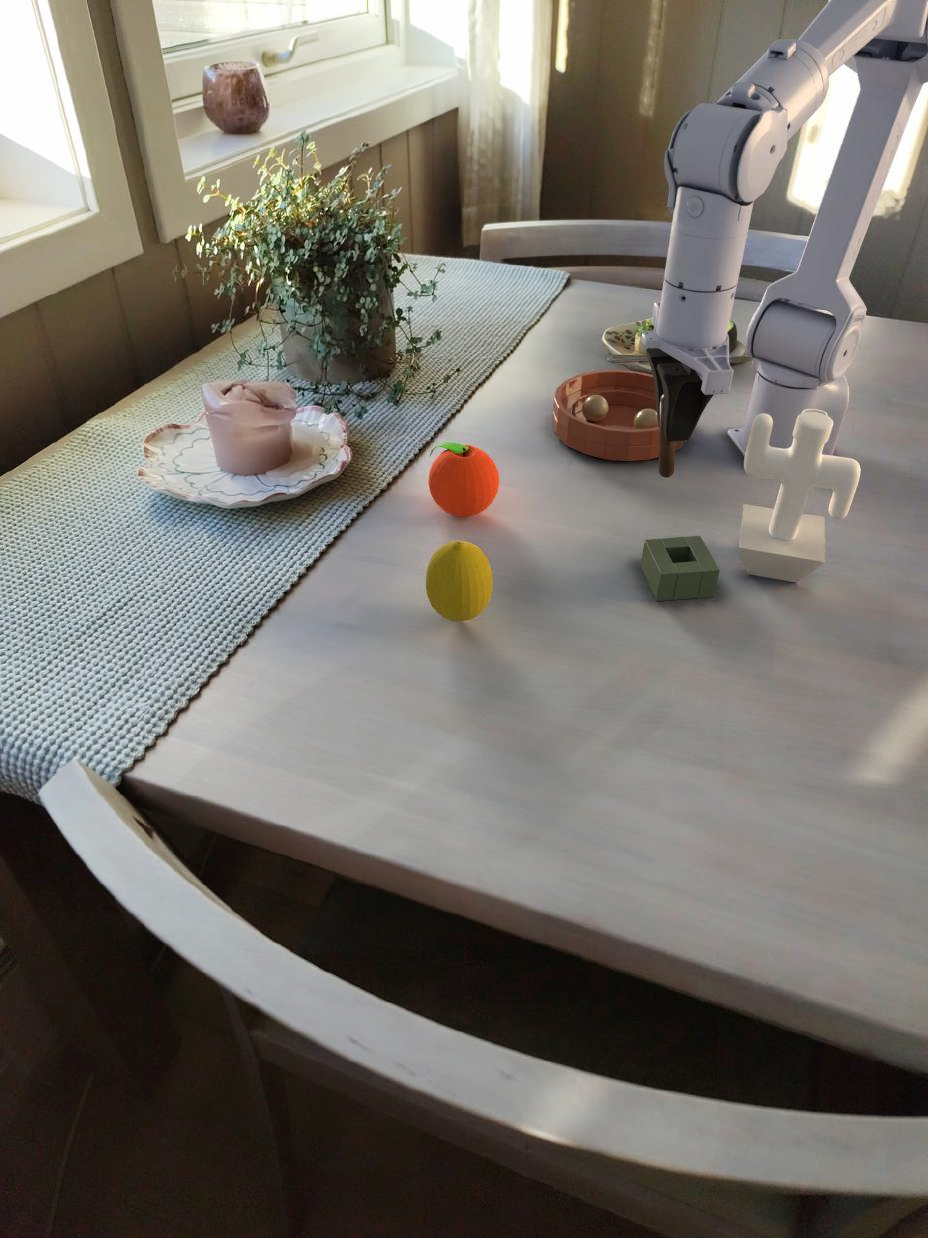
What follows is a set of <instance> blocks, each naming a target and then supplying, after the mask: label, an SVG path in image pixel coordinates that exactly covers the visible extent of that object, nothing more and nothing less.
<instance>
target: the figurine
mask: <svg viewBox="0 0 928 1238" xmlns="http://www.w3.org/2000/svg"><path fill="white" fill-rule="evenodd" d="M772 426H773V420H772V418H771V416H770V415H768V414H765V413H762V414H759V415H757V416H756V417H755V419H754V421H753V424H752V428H751V432H750V436H749V440H748V445H747V449H746V453H745V457H744V460H743V468H744V471H745V473H746V474H747V475H748V476H750V477H753V478H758V479H762V480H770V481H775V482H778V483H780V487H779V490H778V493H777V497H776V499H775V500H776V501H775V504H774V507H773V508H770V507H765V506H758V505H751V504H745V503H743V506H742V515H741V523H740V531H739V540H738V550H739V553H740V557H741V559H742V562H743V565H744V567H745V571H746V573H747V575H750V576H756V577H761V578H762V577H763V578H767V579H772V580H773V579H774V580H779V581H784V582H789V583H790V582H791V583H796V584H797V583H798V582H800V581H801V580H803V579H805V578H806V577H807V576H808V575H809V574H812V572H814V571H815V570H816V569H818V568H820V567H821V566H822V565H823V564H825V562H826V527H825V526H826V520H825V519H826V518H825V516H821V515H820V516H819V515H814V514H809V513H804V512H805V510H806V506H807V502H808V500H809V496H810V493H811V491H812V489H813V487H814V488H815V487H816V488H821V489H828V490H831V491H832V495H831V498H830V502H829V505H828V514H829V516H830V517H831V518H833V519H834V520H838V521H840V520H844V519H845V518H846V517H847V516H848V514H849V512H850V508H851V505H852V503H853V500H854V498H855V497H854V496H855V494H856V491H857V488H858V485H859V483H860V477H861V465H860V463H859V462H858V461H857V460H856V459H853V458H850V457H844V456H838V455H837V456H836V455H834V456H831V455H824V454H822V451H823V447H824V444H825V443H826V442H827V441H828V439H829V436H830V433H831V430H832V427H833V420H832V419H831V418H830V417H828V416H827V413H826V412H825V411H822V410H818V409H805V410H804V411H803V412H802V414H800V415H798V417H797V420H796V423H795V427H794V430H793V437H794V439H793V443H792V446H791V447H790V448H787V449H782V448H775V447H771V446H770V445H769V439H770V435H771V431H772Z"/></svg>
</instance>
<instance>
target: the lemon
mask: <svg viewBox="0 0 928 1238" xmlns="http://www.w3.org/2000/svg"><path fill="white" fill-rule="evenodd" d="M493 587H494V578H493V571H492V567H491V563H490V561H489V559H488V557H487V555H486V554H485V553H484V551H483V550H482V549H481V548H480V547H479V546H478V545H476V544H474V543H473V542H469V541H465V540H452V541H449V542H447V543H444V544H443V545H441V546H440V547H439V548H437V549H436V551H434V552H433V554H432V556H431V558H430V560H429V562H428V565H427V568H426V573H425V591H426V596H427V598H428V601H429V603H430V605H431V607H432V608H433V610H435V612H436V613H437V614H438V615H439V616H441V617H442V618H444V619H446V620H449V621H451V622H452V621H453V622H467V621H470V620H473V619H474V618H476V617H478V616H479V615H480V614H481V613H482V612H483V611H484V610H485V609H486V608H487V606H488V604H489V602H490V601H491V598H492V594H493Z"/></svg>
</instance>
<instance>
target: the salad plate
mask: <svg viewBox="0 0 928 1238" xmlns="http://www.w3.org/2000/svg"><path fill="white" fill-rule="evenodd" d="M651 322H652V317H650V318H649V317H648V318H646V319H642V320H641V319H640V320H638V321H633V322H626V323H622V324H617V325H613V326H610V327H608V328H606V329H605V331H604V332H603V334H602V337H601V339H600V342H601V344H602V345H604V347H605V348H606V350H607V351H608V353H610V354H609V355H608V356H607V362H609V363H611V364H615V365H622V366H626V367H627V368H628V369H629V370H631V371H637V372H642V373H646V374H651V375H653V374H652V370H651V367H650V363H649V361H648V358H647V355H646V349H647V347H646V346H645V345H644V344H643V342H642V341H641V337H642V333H643V332H644V331H653V330H654V326H653V324H652V323H651ZM727 334H728V336H729V364H730V366H731V368H733V367H735V366H738V365H742V364H746V363H749V362H752V361H753V359H752V358H750V357H749V356H746V353H747V351H746V346H745V344H744V343H742V342H741V341H739V340H738V329H737V324H736V323H735V322H734V321H733V320H730V323H729V327H728V332H727Z"/></svg>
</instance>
